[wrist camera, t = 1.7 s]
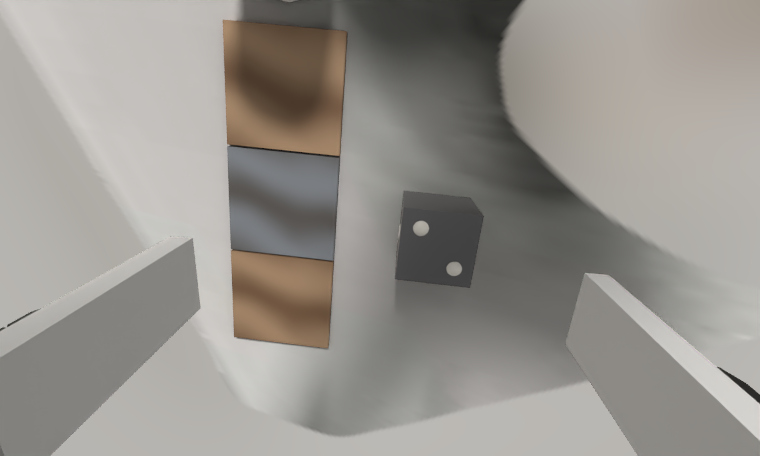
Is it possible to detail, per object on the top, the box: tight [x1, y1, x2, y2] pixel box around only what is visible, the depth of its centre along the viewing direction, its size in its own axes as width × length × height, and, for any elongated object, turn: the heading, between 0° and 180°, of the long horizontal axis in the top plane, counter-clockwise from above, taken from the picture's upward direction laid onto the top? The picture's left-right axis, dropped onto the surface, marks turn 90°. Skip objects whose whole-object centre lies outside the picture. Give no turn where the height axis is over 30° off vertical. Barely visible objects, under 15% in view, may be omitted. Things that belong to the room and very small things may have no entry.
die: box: [395, 191, 484, 288], centre depth 31 cm, size 6×6×6 cm
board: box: [223, 20, 347, 348], centre depth 34 cm, size 30×10×1 cm, turn 175°
